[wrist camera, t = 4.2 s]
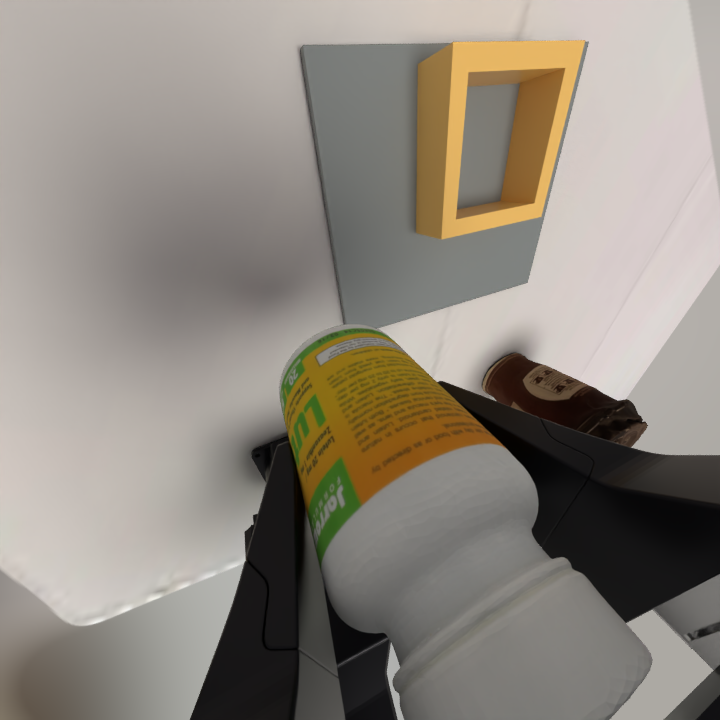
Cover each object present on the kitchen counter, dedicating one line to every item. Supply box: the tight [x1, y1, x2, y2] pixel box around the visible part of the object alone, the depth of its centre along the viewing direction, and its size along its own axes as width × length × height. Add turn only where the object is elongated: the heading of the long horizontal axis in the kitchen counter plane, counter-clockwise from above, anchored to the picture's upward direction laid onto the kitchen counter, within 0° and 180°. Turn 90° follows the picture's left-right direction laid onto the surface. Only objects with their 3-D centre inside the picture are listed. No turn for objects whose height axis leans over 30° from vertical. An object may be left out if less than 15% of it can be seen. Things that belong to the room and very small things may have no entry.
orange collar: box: [416, 40, 585, 240], centre depth 17 cm, size 8×8×3 cm
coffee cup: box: [482, 353, 648, 447], centre depth 29 cm, size 9×8×13 cm
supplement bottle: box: [279, 324, 652, 720], centre depth 8 cm, size 5×5×10 cm
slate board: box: [300, 42, 589, 329], centre depth 20 cm, size 16×19×1 cm
